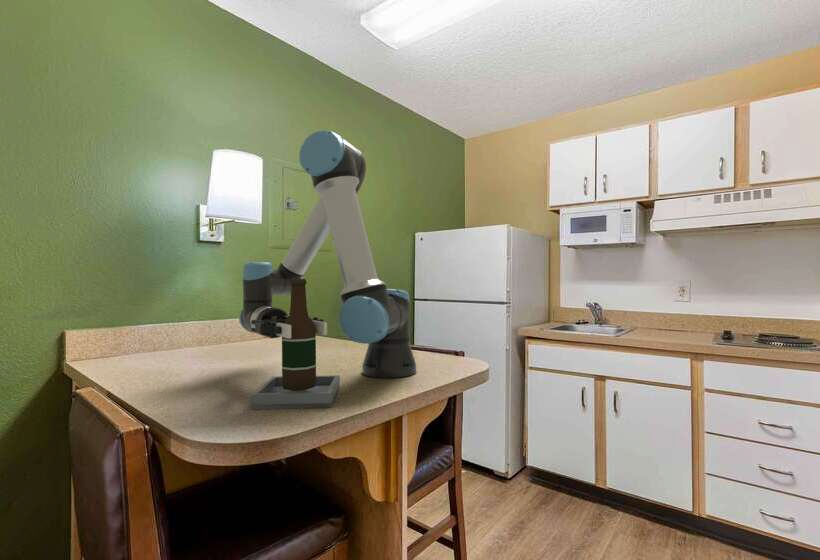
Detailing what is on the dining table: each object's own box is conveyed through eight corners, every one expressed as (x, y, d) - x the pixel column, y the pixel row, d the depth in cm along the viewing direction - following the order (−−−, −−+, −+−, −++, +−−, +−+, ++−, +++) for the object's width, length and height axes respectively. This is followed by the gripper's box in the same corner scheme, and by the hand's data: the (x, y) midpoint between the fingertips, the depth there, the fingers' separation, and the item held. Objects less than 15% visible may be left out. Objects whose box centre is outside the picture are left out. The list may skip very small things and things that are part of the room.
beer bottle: (321, 382, 98) (320, 278, 98) (310, 391, 90) (309, 278, 90) (288, 381, 99) (288, 278, 98) (274, 390, 91) (274, 278, 91)
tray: (339, 387, 103) (339, 375, 103) (330, 407, 87) (330, 393, 87) (272, 388, 102) (272, 376, 102) (251, 409, 86) (251, 394, 86)
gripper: (307, 333, 115) (350, 343, 97) (228, 340, 102) (260, 353, 84) (307, 305, 115) (349, 310, 97) (228, 309, 102) (259, 315, 84)
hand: (308, 330), depth 90 cm, fingers closed on beer bottle, 7 cm apart
